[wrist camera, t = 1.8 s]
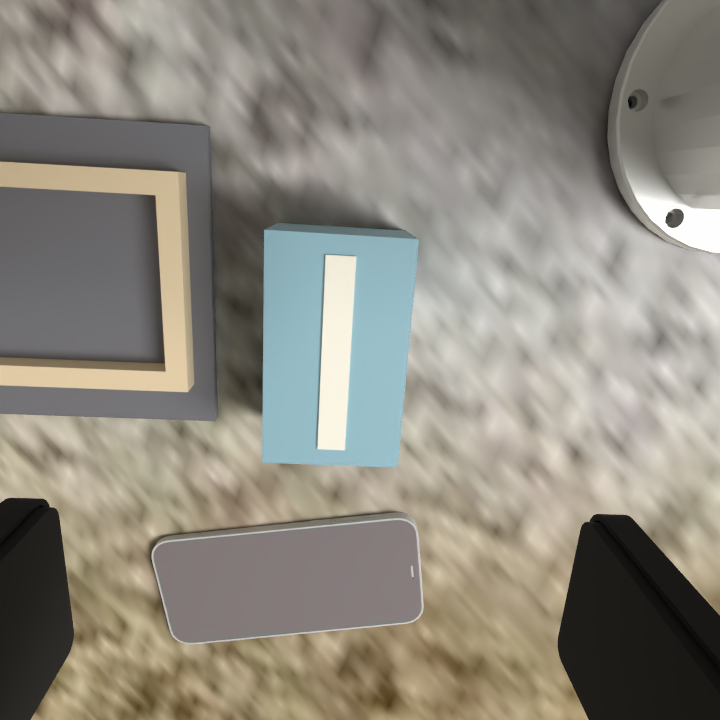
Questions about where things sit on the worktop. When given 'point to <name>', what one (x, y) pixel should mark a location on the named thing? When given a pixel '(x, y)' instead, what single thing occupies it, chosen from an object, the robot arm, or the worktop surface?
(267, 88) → the worktop surface
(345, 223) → the worktop surface
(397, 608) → the smartphone
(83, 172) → the mat
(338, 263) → the card box
